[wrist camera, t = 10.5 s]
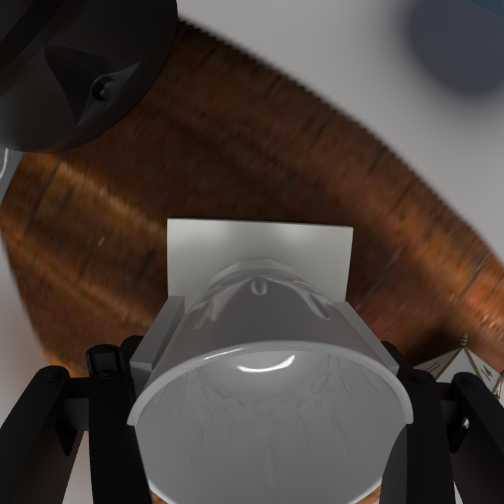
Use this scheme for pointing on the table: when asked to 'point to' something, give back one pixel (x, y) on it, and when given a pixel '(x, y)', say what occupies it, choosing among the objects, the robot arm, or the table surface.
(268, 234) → the coaster
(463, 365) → the game die
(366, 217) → the table surface
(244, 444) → the white cup
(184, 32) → the table surface
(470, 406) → the robot arm
